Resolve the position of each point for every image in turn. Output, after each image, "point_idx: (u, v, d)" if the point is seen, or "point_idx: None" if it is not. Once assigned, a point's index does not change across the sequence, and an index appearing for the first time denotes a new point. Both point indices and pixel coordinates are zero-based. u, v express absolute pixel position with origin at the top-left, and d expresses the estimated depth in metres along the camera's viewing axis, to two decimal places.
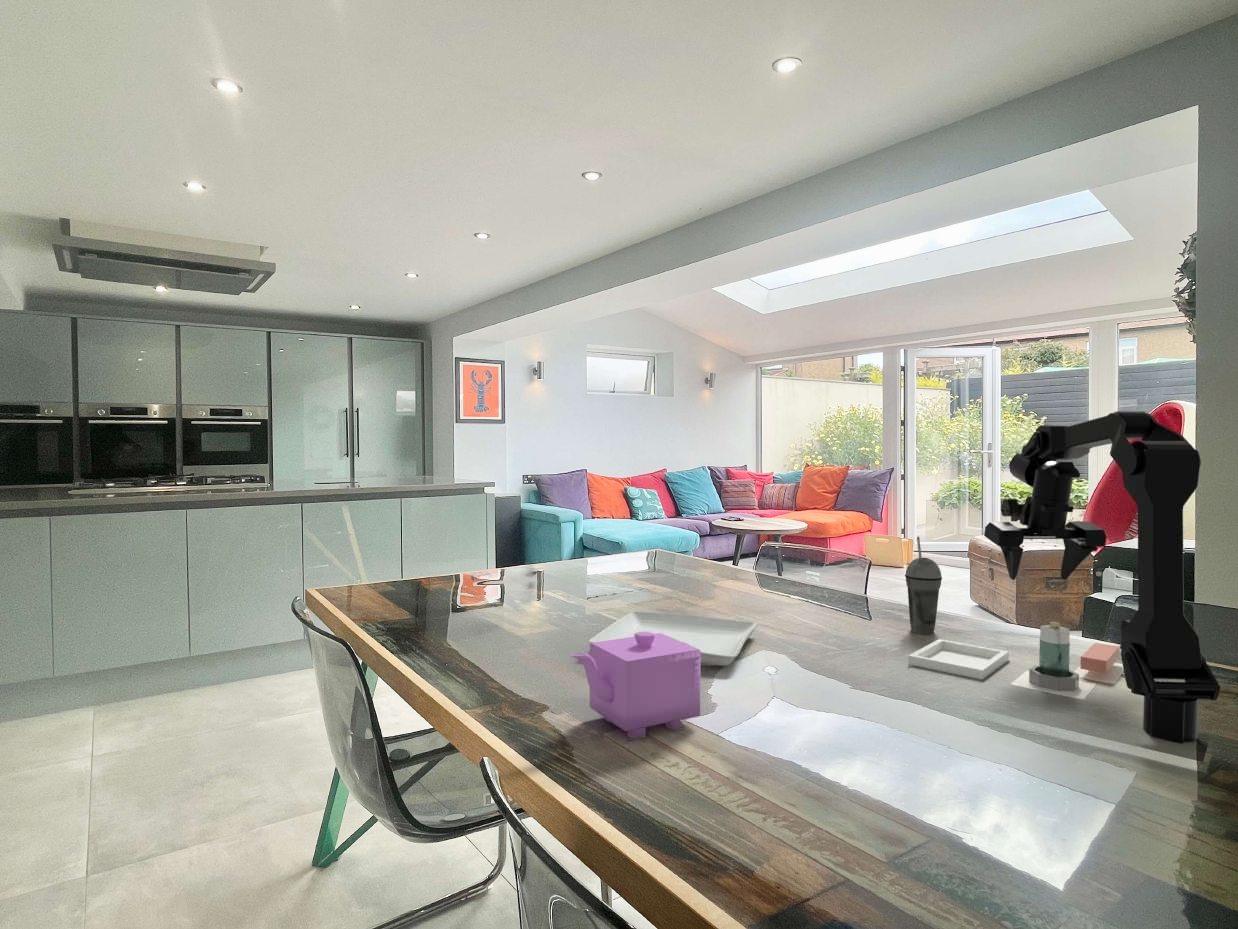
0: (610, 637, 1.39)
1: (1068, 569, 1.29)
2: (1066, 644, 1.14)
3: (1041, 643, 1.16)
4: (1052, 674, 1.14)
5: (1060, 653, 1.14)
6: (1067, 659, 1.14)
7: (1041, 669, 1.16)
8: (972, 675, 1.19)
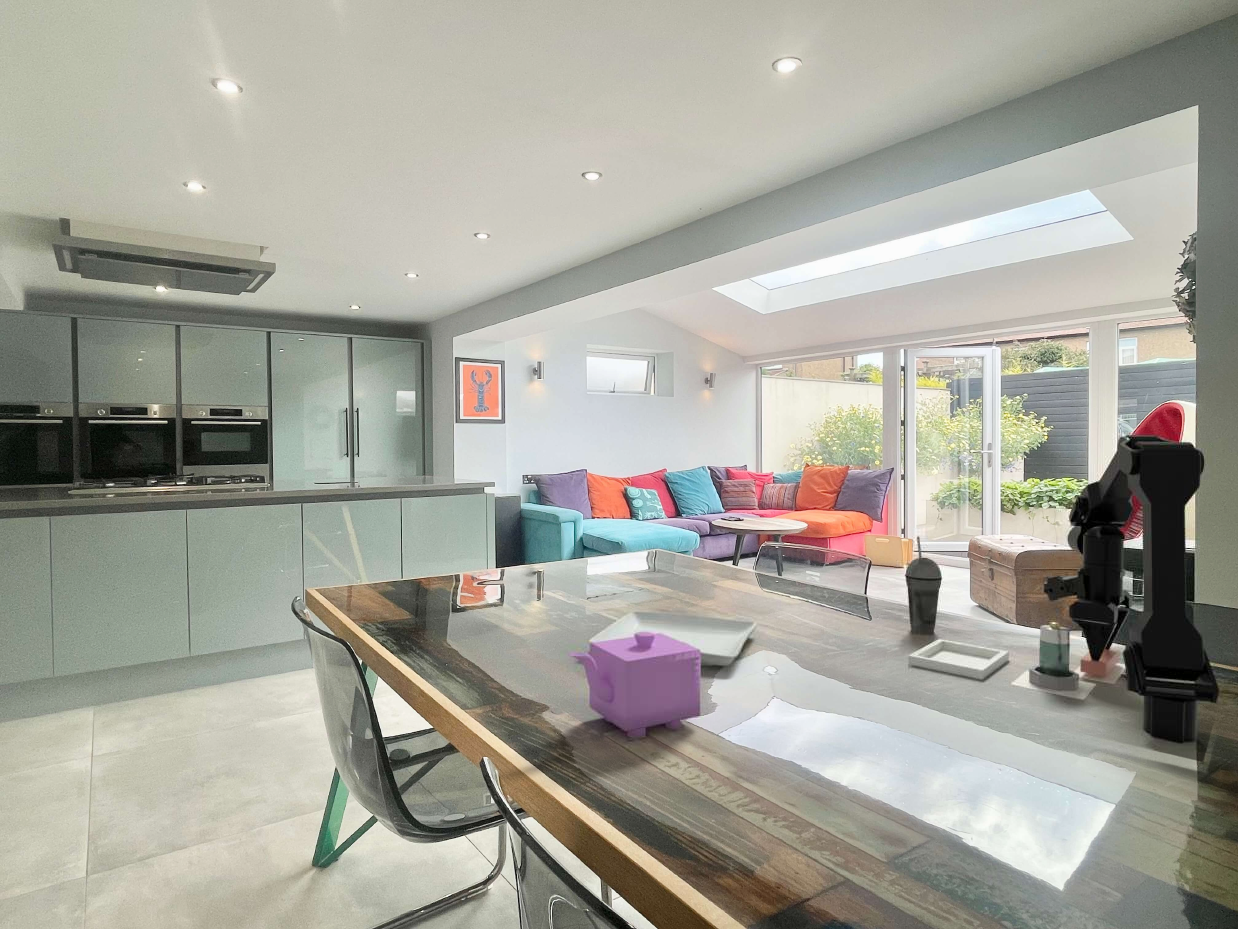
0: (610, 637, 1.39)
1: (1113, 637, 1.26)
2: (1066, 644, 1.14)
3: (1041, 643, 1.16)
4: (1052, 674, 1.14)
5: (1060, 653, 1.14)
6: (1067, 659, 1.14)
7: (1041, 669, 1.16)
8: (972, 675, 1.19)
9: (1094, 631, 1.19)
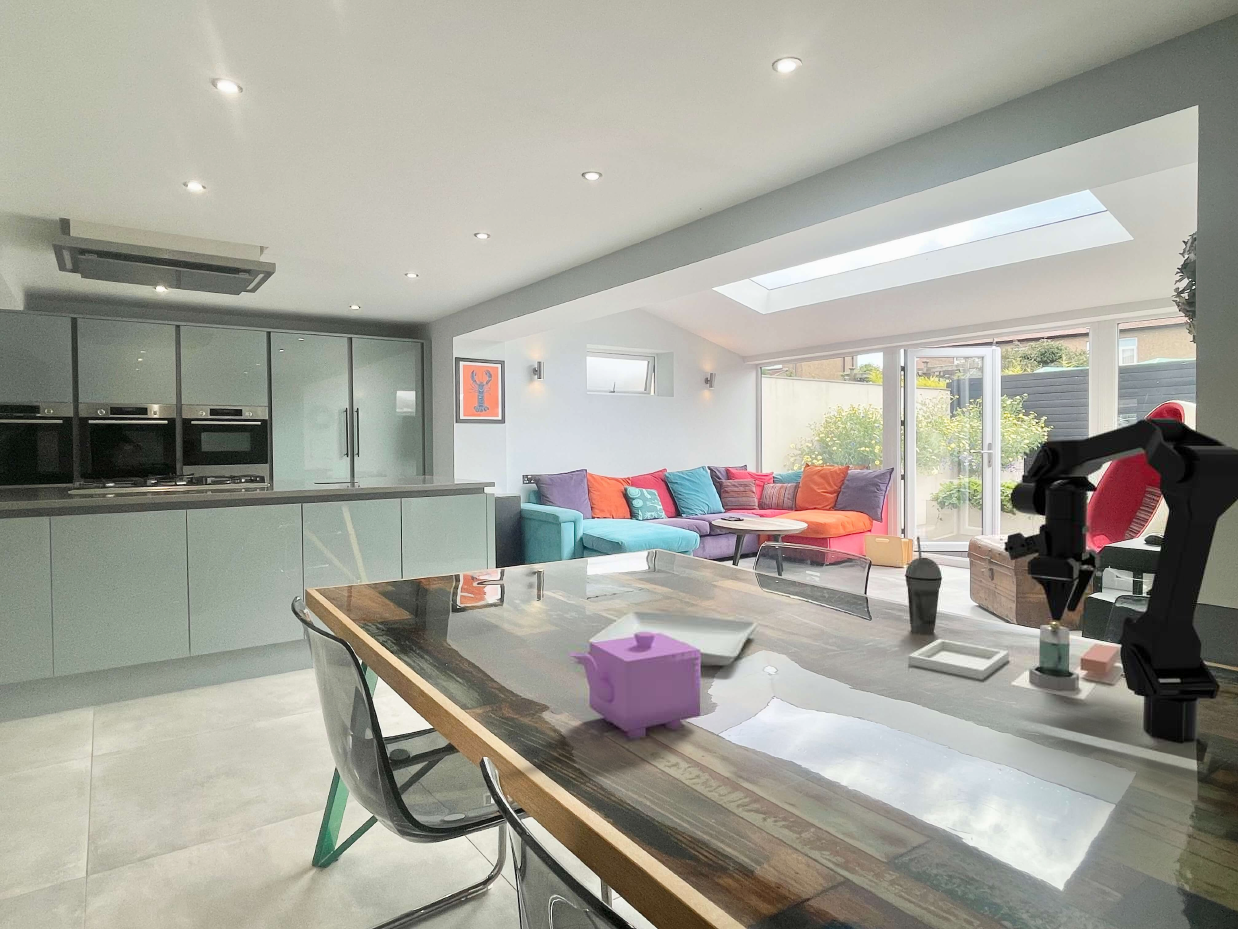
0: (610, 637, 1.39)
1: (1079, 598, 1.19)
2: (1066, 644, 1.14)
3: (1041, 643, 1.16)
4: (1052, 674, 1.14)
5: (1060, 652, 1.14)
6: (1067, 659, 1.14)
7: (1041, 669, 1.16)
8: (972, 675, 1.19)
9: (1055, 589, 1.13)
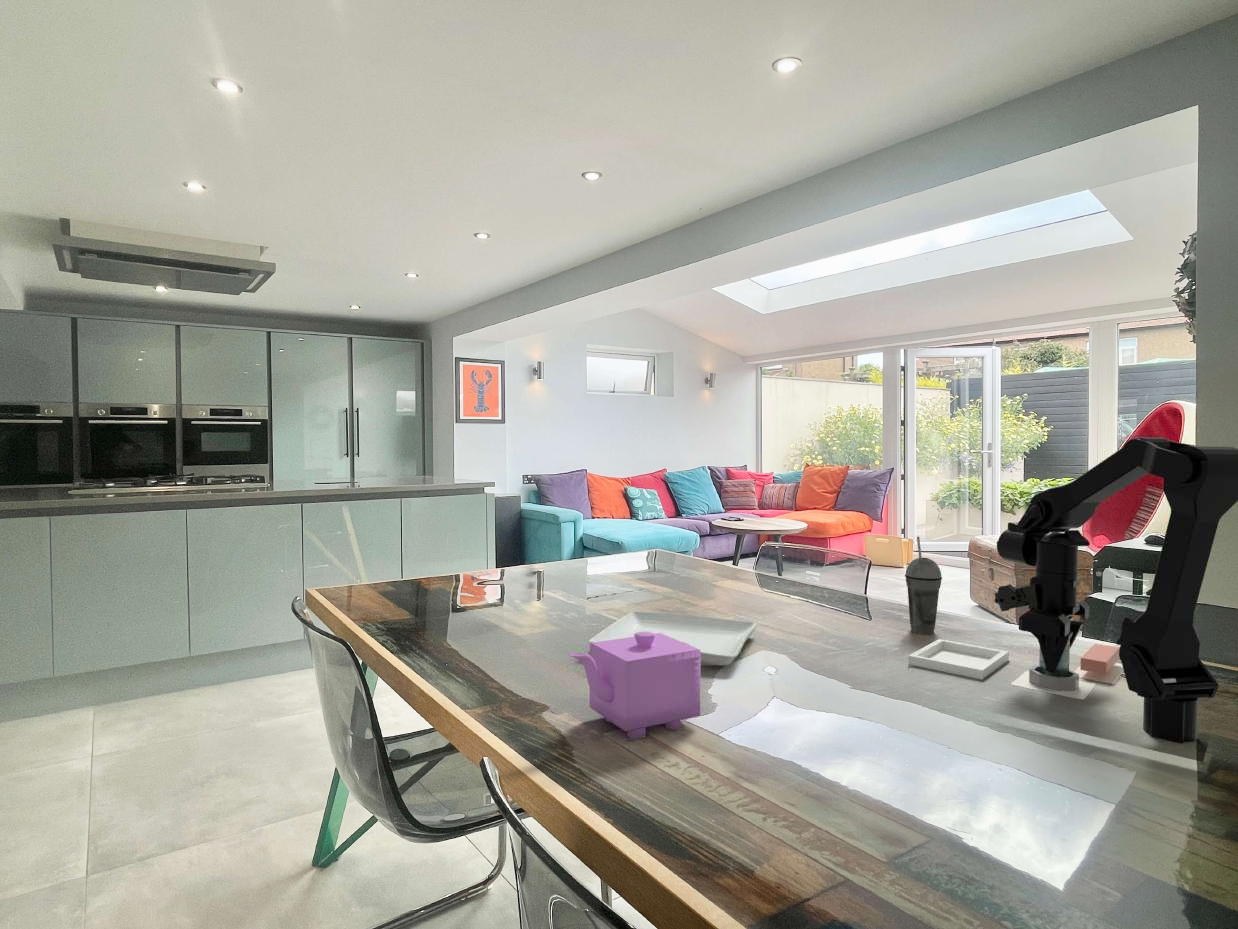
0: (610, 637, 1.39)
1: None
2: None
3: None
4: (1052, 674, 1.14)
5: None
6: (1067, 660, 1.14)
7: (1041, 669, 1.16)
8: (972, 675, 1.19)
9: (1049, 641, 1.13)
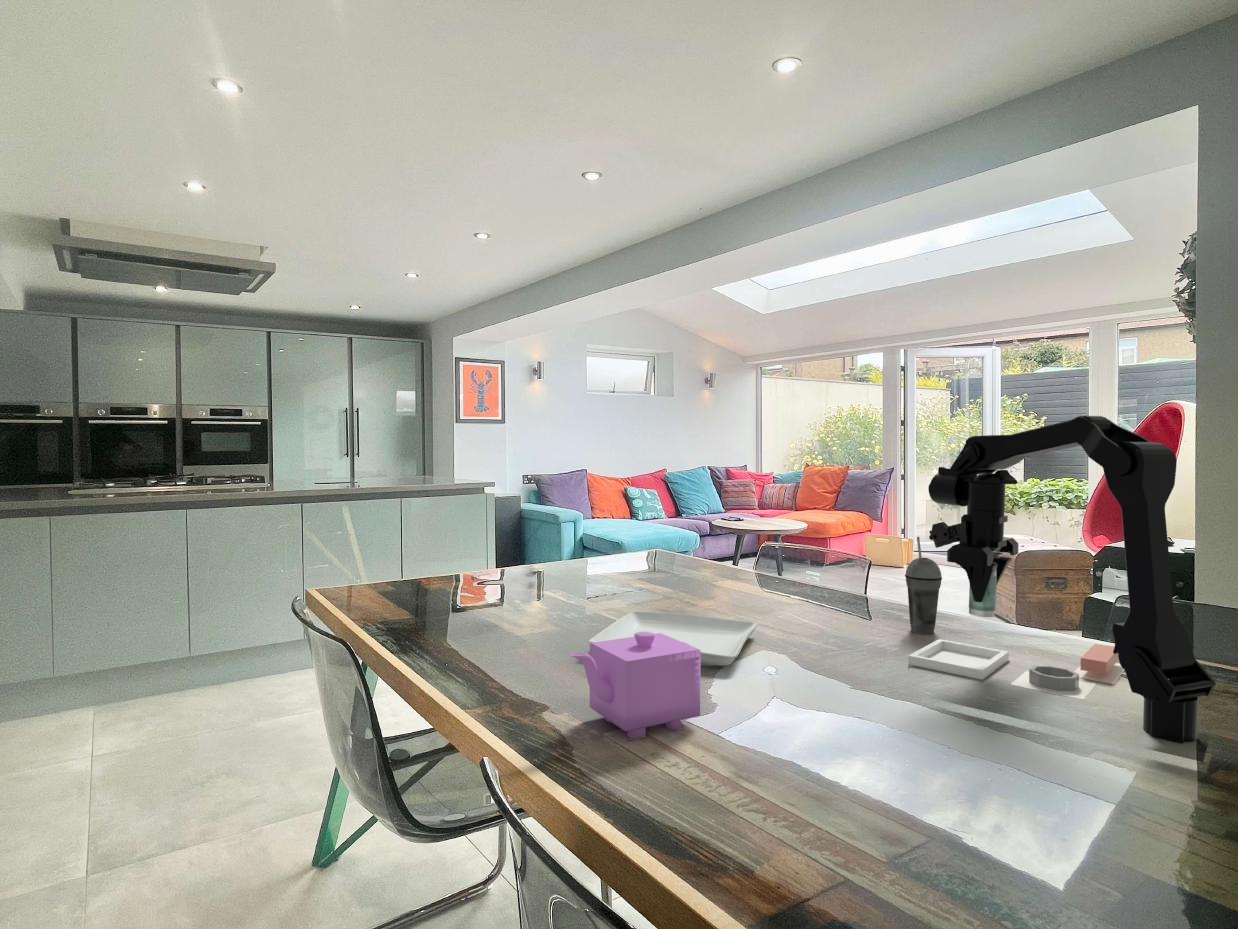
0: (610, 637, 1.39)
1: None
2: (993, 576, 1.23)
3: None
4: (979, 604, 1.23)
5: None
6: (994, 591, 1.23)
7: (970, 600, 1.24)
8: (972, 675, 1.19)
9: (976, 573, 1.22)
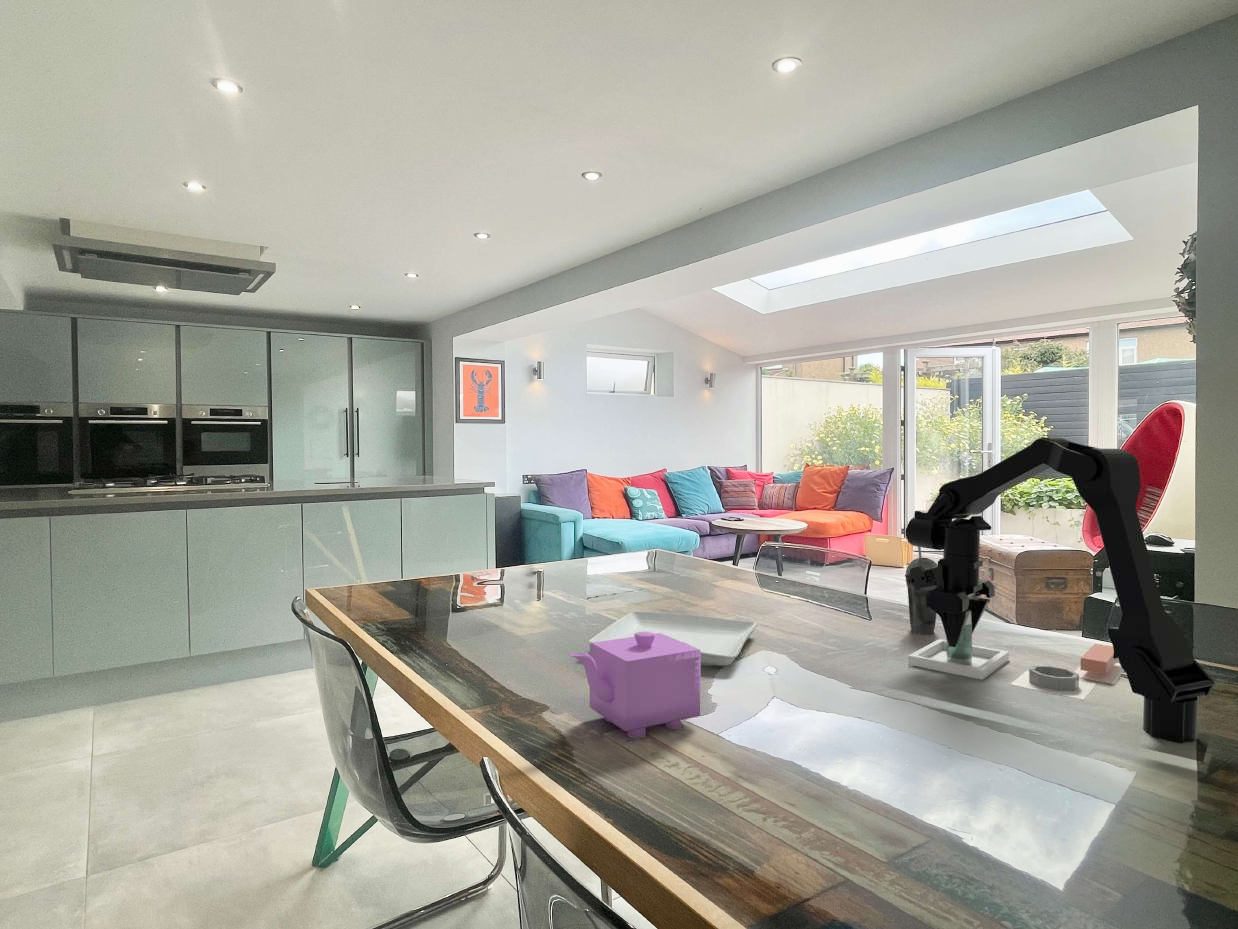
0: (610, 637, 1.39)
1: (973, 627, 1.29)
2: (968, 625, 1.26)
3: None
4: (956, 652, 1.26)
5: (962, 633, 1.25)
6: (969, 639, 1.26)
7: (947, 648, 1.27)
8: (972, 675, 1.19)
9: (950, 618, 1.24)
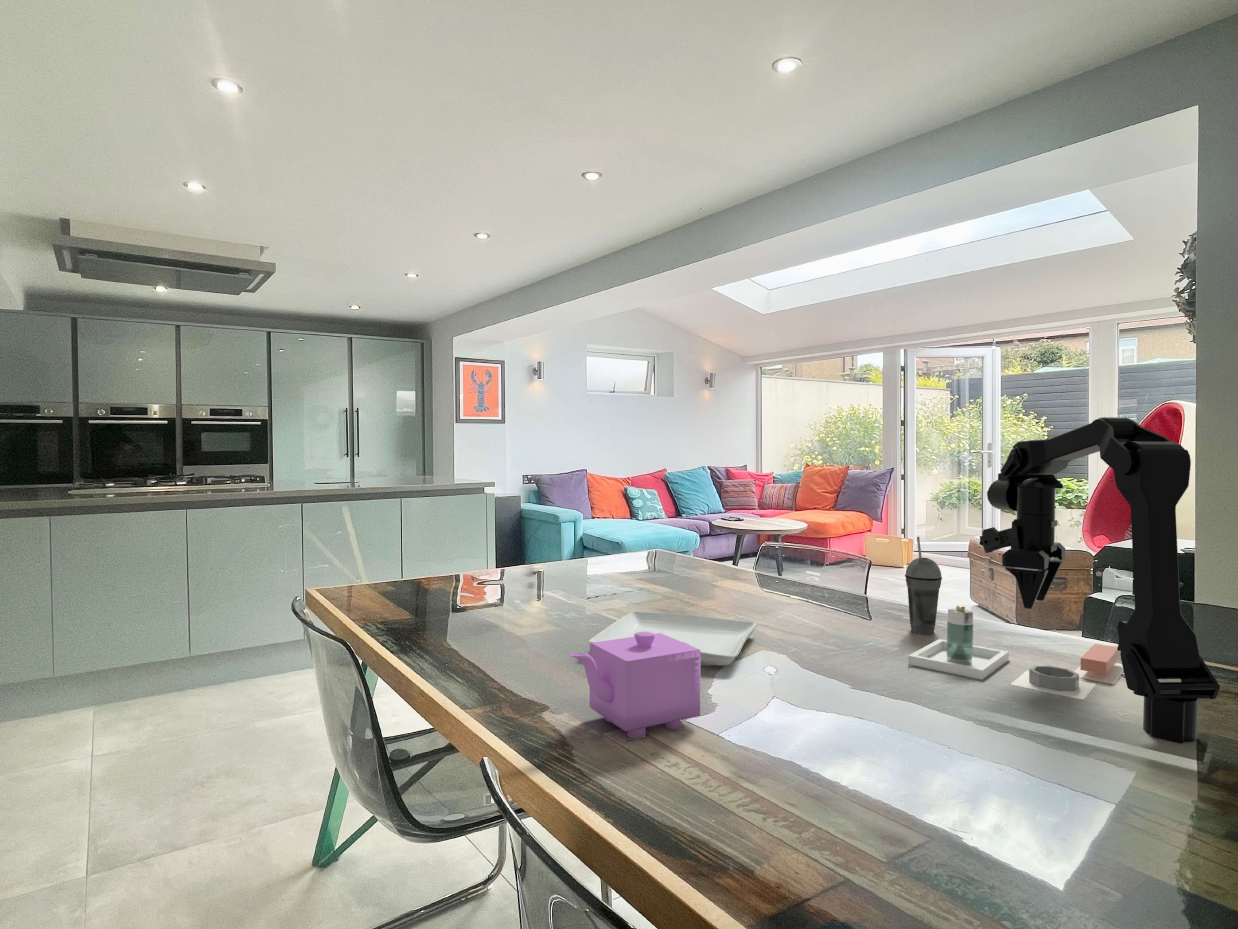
0: (610, 637, 1.39)
1: (1047, 588, 1.28)
2: (969, 625, 1.26)
3: (948, 624, 1.28)
4: (956, 652, 1.26)
5: (964, 633, 1.25)
6: (970, 639, 1.26)
7: (948, 648, 1.27)
8: (972, 675, 1.19)
9: (1026, 579, 1.21)
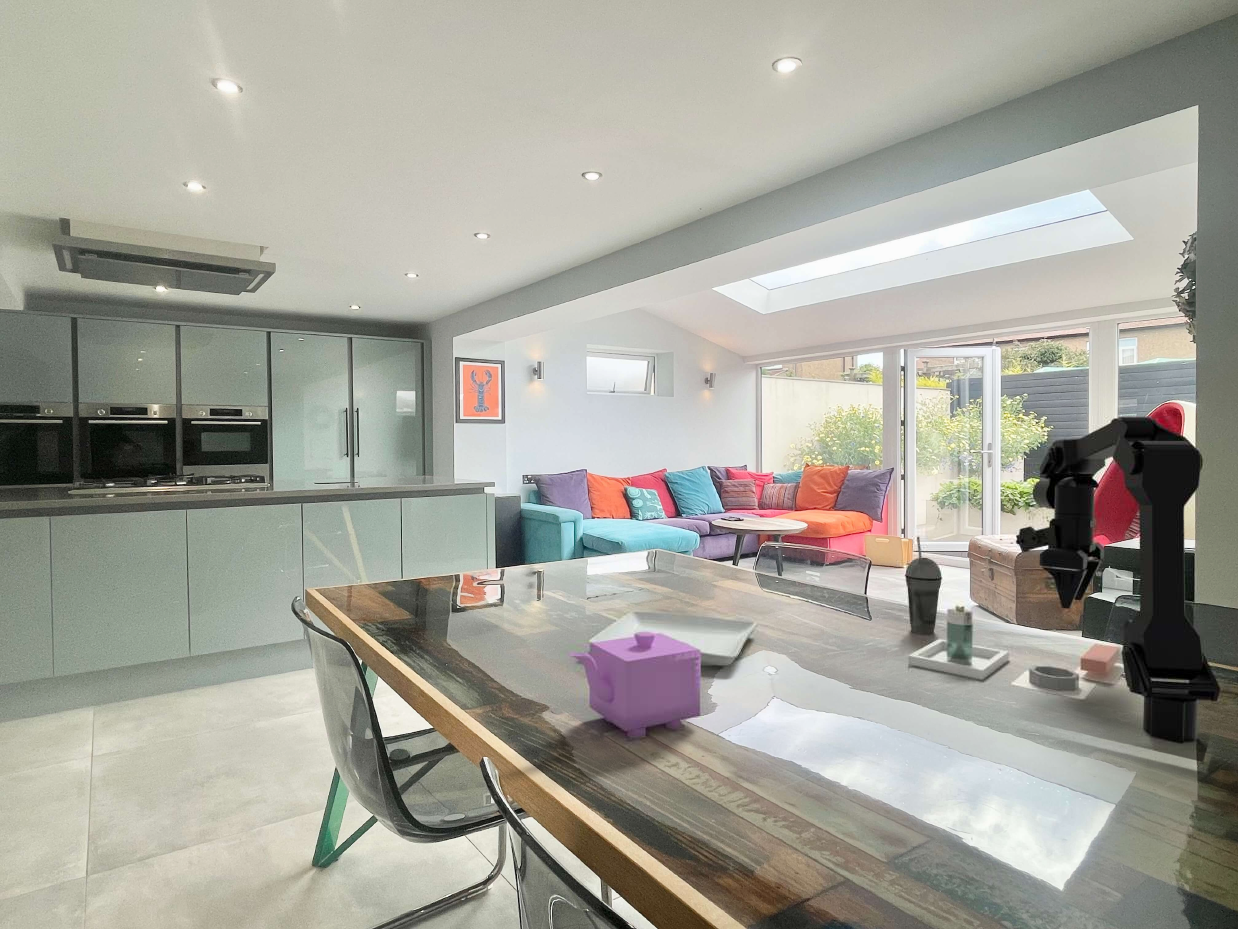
0: (610, 637, 1.39)
1: (1085, 588, 1.27)
2: (969, 625, 1.26)
3: (947, 624, 1.28)
4: (956, 652, 1.26)
5: (963, 633, 1.25)
6: (970, 639, 1.26)
7: (948, 648, 1.27)
8: (972, 675, 1.19)
9: (1064, 579, 1.20)
